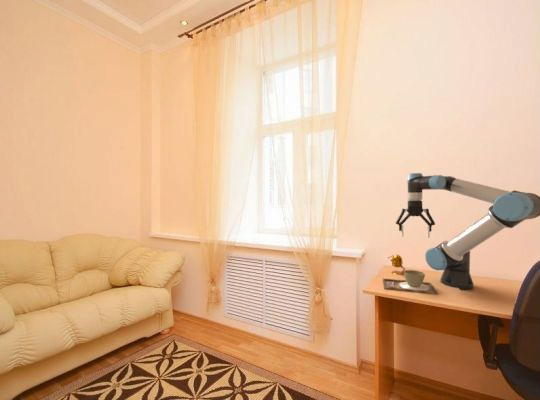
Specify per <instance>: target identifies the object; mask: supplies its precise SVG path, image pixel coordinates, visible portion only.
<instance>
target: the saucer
mask: <svg viewBox="0 0 540 400" xmlns="http://www.w3.org/2000/svg"><path fill="white" fill-rule="evenodd" d="M399 286H400V287H401V288H403V289H413V290H423V291H429V287H428V286H426V285H424V284H421V285H420V287H411V286H409V285H408V283H407V282H402V283H400V284H399Z"/></svg>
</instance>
